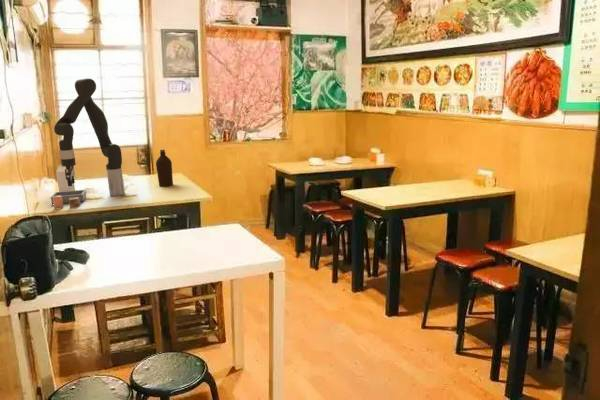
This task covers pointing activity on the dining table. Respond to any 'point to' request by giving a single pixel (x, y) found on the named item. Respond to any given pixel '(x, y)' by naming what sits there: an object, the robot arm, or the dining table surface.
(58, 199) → the terracotta cylinder
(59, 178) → the milk carton
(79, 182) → the dining table surface
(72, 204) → the walnut cube
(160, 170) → the olive oil
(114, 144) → the robot arm
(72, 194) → the tote
